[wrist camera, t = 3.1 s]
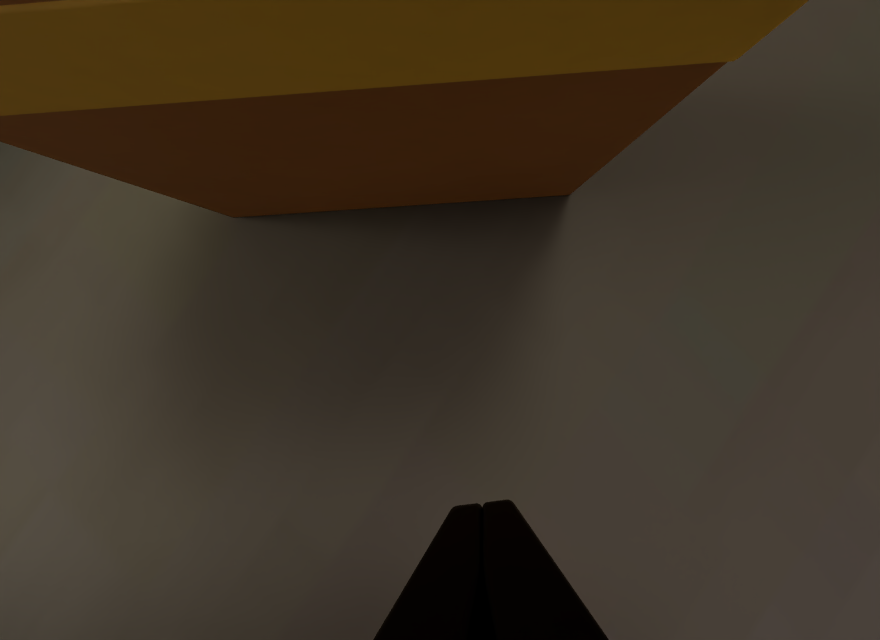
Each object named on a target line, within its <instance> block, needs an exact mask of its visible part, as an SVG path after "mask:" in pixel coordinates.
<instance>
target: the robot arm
mask: <svg viewBox="0 0 880 640" xmlns="http://www.w3.org/2000/svg"><path fill="white" fill-rule="evenodd" d="M373 640H609V639H608V638H607V636H606V635H605V634H604V632H603V631H602V629H601V628H600V626H599V625H598V624H597V622H596V621H595V619H594V618H593V616H592V615H591V614H590V612H589V611H588V609H587V608H586V606H585V605H584V603H583V602H582V601H581V599H580V598H579V596H578V595H577V593H576V592H575V591H574V589H573V588H572V586H571V585H570V583H569V582H568V580H567V579H566V578H565V576H564V575H563V573H562V572H561V570H560V569H559V568H558V566H557V565H556V563H555V562H554V560H553V559H552V557H551V556H550V555H549V553H548V552H547V550H546V549H545V547H544V546H543V545H542V543H541V542H540V540H539V539H538V537H537V536H536V534H535V533H534V532H533V530H532V529H531V527H530V526H529V524H528V523H527V522H526V520H525V519H524V517H523V516H522V514H521V513H520V511H519V510H518V509H517V507H516V506H515V504H514V503H513V502H512V501H511V500H500V501H492V502H486V503H485V504H484V505H483V507H482V506H481V505H480V504H478V503H475V504H467V505H459V506H455V507H453V508H452V509H451V510H450V512H449V514H448V515H447V517H446V519H445V520H444V522H443V524H442V525H441V527H440V529H439V530H438V532H437V534H436V535H435V537H434V539H433V541H432V542H431V544H430V546H429V547H428V549H427V551H426V552H425V554H424V556H423V557H422V559H421V561H420V562H419V564H418V566H417V567H416V569H415V571H414V572H413V574H412V576H411V577H410V579H409V581H408V582H407V584H406V586H405V587H404V589H403V591H402V593H401V594H400V596H399V598H398V599H397V601H396V603H395V604H394V606H393V608H392V609H391V611H390V613H389V614H388V616H387V618H386V619H385V621H384V623H383V624H382V626H381V628H380V629H379V631H378V633H377V634H376V636H375V638H374V639H373Z"/></svg>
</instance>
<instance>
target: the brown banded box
mask: <svg viewBox="0 0 880 640" xmlns="http://www.w3.org/2000/svg"><path fill="white" fill-rule="evenodd" d="M807 1H809V0H0V142H3V143H6V144H9V145H13V146H16V147H19V148H22V149H25V150H28V151H31V152H34V153H37V154H40V155H43V156H46V157H49V158H52V159H55V160H59V161H62V162H65V163H68V164H71V165H74V166H77V167H80V168H83V169H86V170H89V171H92V172H95V173H98V174H102V175H105V176H108V177H111V178H114V179H117V180H120V181H123V182H126V183H129V184H132V185H135V186H138V187H141V188H144V189H148V190H151V191H154V192H157V193H160V194H163V195H166V196H169V197H172V198H175V199H178V200H181V201H184V202H187V203H190V204H194V205H197V206H200V207H203V208H206V209H209V210H212V211H215V212H218V213H221V214H224V215H227V216H230V217H248V216H263V215H277V214H292V213H307V212H322V211H337V210H352V209H367V208H382V207H397V206H411V205H426V204H441V203H456V202H471V201H486V200H501V199H516V198H531V197H545V196H560V195H570V194H571V193H572V192H574V191H575V190H576V189H577V188H578V187H580V186H581V185H582V184H583V183H584V182H586V181H587V180H588V179H589V178H590V177H591V176H593V175H594V174H595V173H596V172H597V171H599V170H600V169H601V168H602V167H603V166H605V165H606V164H607V163H608V162H609V161H610V160H612V159H613V158H614V157H615V156H616V155H618V154H619V153H620V152H621V151H622V150H624V149H625V148H626V147H627V146H628V145H629V144H631V143H632V142H633V141H634V140H635V139H637V138H638V137H639V136H640V135H641V134H643V133H644V132H645V131H646V130H647V129H648V128H650V127H651V126H652V125H653V124H654V123H656V122H657V121H658V120H659V119H660V118H662V117H663V116H664V115H665V114H666V113H667V112H669V111H670V110H671V109H672V108H673V107H675V106H676V105H677V104H678V103H679V102H681V101H682V100H683V99H684V98H685V97H686V96H688V95H689V94H690V93H691V92H692V91H694V90H695V89H696V88H697V87H698V86H700V85H701V84H702V83H703V82H704V81H705V80H707V79H708V78H709V77H710V76H711V75H713V74H714V73H715V72H716V71H717V70H719V69H720V68H721V67H722V66H723V65H724V64H726V63H727V62H729V61H734V60H736V59H738V58H739V57H741V56H742V55H743V54H744V53H745V52H747V51H748V50H749V49H750V48H752V47H753V46H754V45H755V44H756V43H758V42H759V41H760V40H761V39H762V38H764V37H765V36H766V35H767V34H769V33H770V32H771V31H772V30H773V29H775V28H776V27H777V26H778V25H779V24H781V23H782V22H783V21H784V20H786V19H787V18H788V17H789V16H790V15H792V14H793V13H794V12H795V11H797V10H798V9H799V8H800V7H801V6H803V5H804V4H805V3H806V2H807Z"/></svg>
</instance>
